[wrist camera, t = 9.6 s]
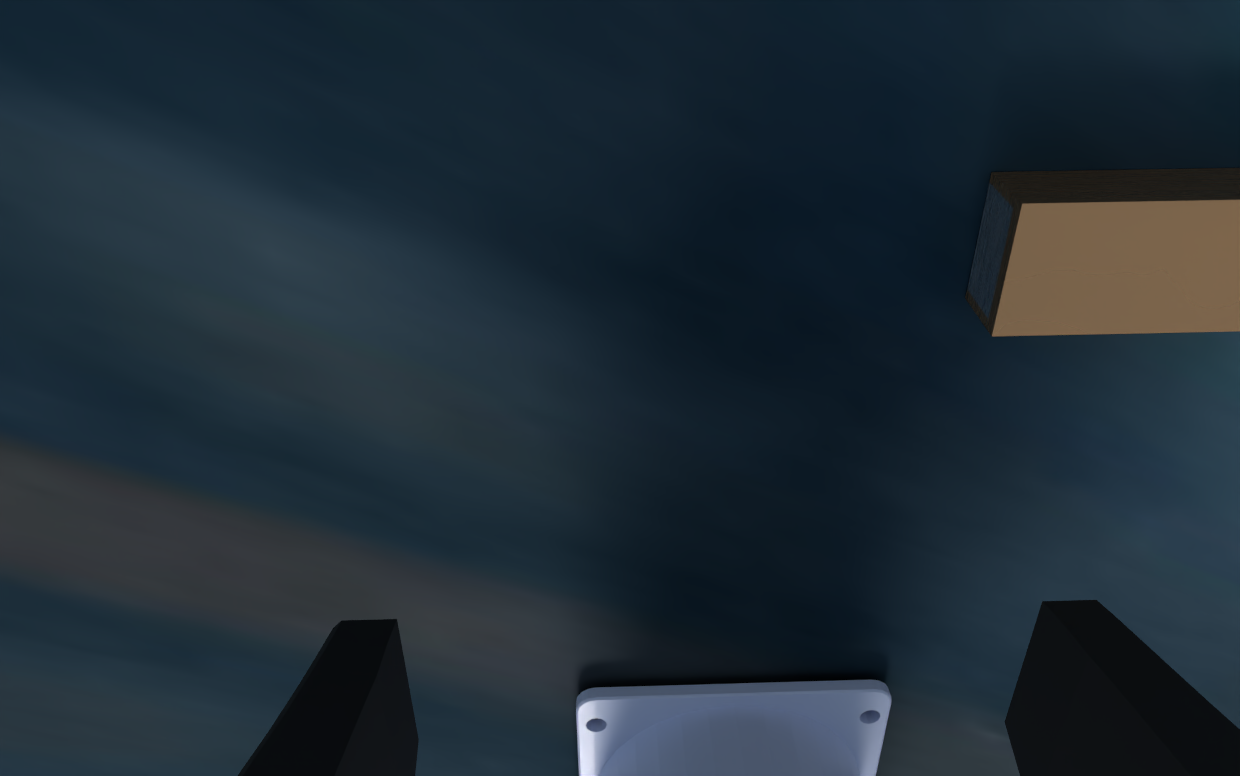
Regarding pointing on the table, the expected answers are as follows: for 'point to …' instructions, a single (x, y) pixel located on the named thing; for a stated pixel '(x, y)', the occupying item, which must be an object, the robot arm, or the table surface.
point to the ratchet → (1108, 252)
